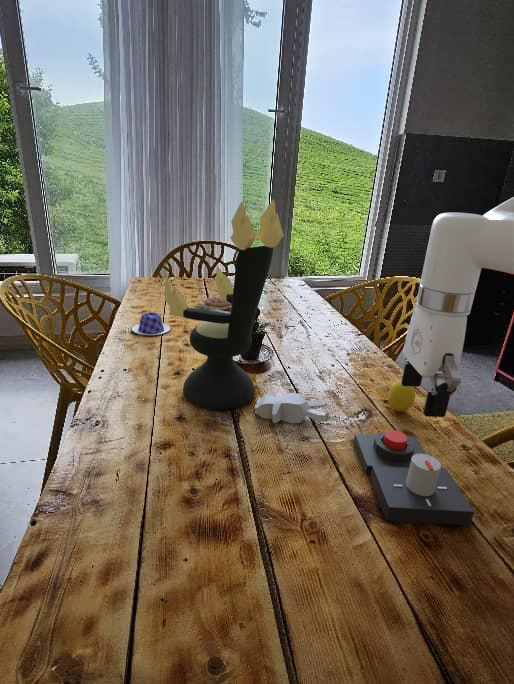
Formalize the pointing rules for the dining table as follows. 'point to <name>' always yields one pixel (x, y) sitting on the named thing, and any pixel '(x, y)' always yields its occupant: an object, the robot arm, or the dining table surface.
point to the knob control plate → (419, 499)
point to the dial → (423, 474)
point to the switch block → (384, 452)
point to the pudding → (151, 325)
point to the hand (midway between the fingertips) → (421, 399)
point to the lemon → (401, 397)
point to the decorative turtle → (214, 304)
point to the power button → (395, 439)
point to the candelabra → (229, 317)
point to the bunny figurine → (289, 408)
